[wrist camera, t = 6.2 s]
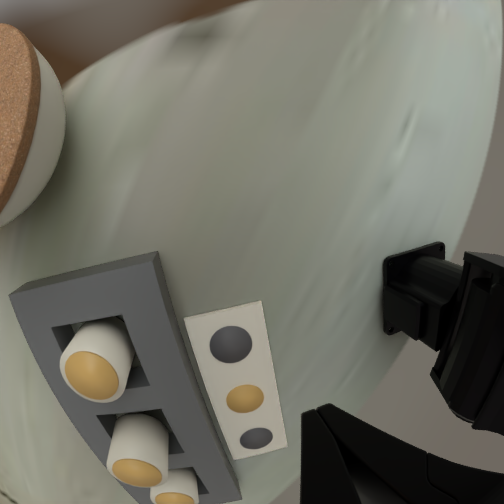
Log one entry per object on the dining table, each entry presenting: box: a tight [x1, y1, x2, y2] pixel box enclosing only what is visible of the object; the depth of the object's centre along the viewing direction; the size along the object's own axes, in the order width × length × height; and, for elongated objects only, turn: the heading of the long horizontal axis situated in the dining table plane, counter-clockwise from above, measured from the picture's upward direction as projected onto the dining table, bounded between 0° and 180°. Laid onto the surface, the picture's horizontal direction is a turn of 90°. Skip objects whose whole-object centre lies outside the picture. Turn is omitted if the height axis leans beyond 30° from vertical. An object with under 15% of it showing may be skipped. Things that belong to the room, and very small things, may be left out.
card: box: [184, 300, 288, 460], centre depth 20 cm, size 5×15×1 cm, turn 10°
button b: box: [106, 413, 169, 488], centre depth 15 cm, size 4×4×4 cm
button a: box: [60, 316, 136, 403], centre depth 15 cm, size 4×4×4 cm
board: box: [9, 251, 242, 504], centre depth 18 cm, size 10×24×2 cm, turn 10°
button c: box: [150, 467, 199, 504], centre depth 18 cm, size 4×4×4 cm
